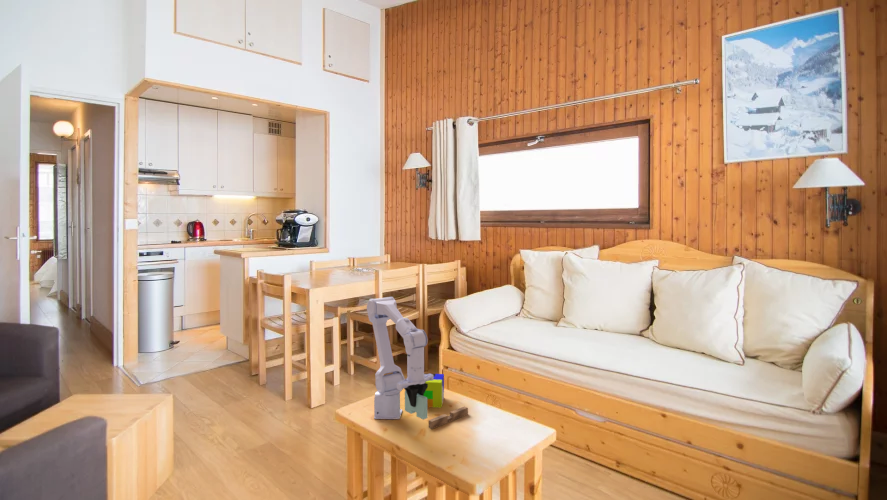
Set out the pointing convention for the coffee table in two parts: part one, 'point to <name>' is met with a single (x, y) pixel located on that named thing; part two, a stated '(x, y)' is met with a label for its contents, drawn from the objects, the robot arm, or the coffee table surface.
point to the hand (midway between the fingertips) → (415, 405)
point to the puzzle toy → (435, 391)
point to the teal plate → (417, 406)
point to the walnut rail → (447, 417)
